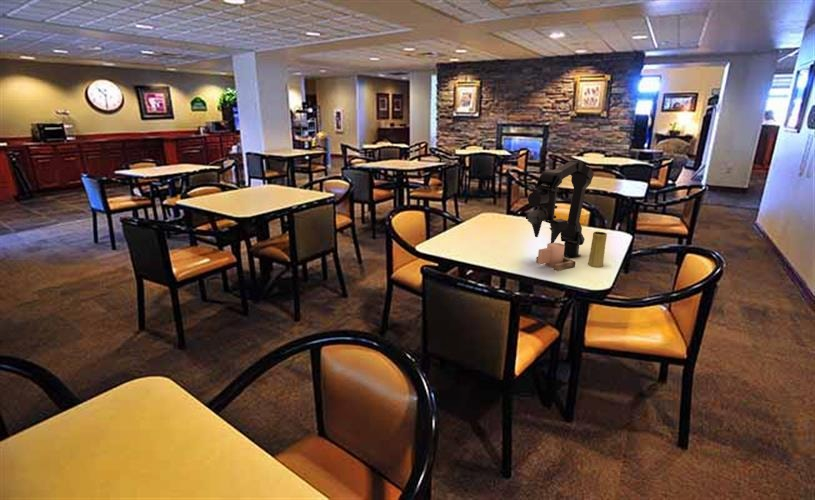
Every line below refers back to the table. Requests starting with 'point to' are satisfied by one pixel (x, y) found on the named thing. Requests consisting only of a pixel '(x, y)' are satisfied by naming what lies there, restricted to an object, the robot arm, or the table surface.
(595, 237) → the vase
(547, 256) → the pink block
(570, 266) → the walnut holder
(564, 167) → the robot arm
